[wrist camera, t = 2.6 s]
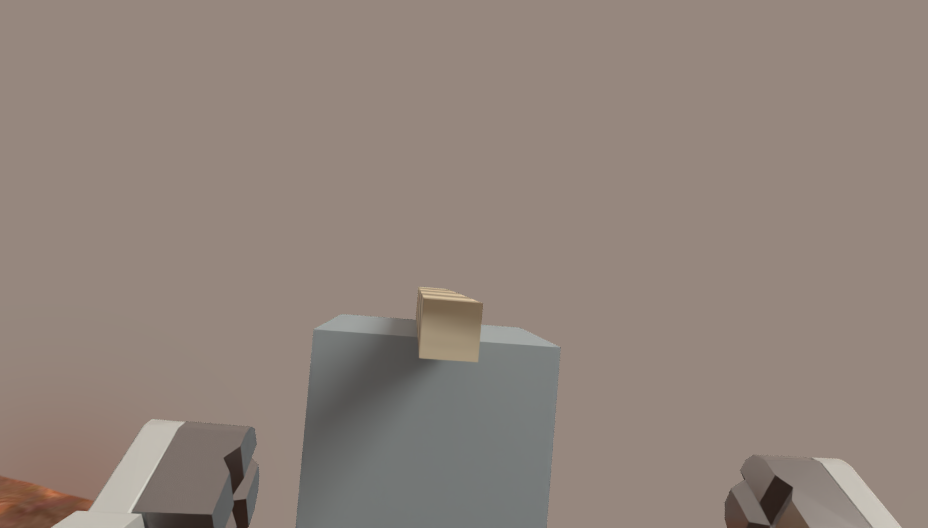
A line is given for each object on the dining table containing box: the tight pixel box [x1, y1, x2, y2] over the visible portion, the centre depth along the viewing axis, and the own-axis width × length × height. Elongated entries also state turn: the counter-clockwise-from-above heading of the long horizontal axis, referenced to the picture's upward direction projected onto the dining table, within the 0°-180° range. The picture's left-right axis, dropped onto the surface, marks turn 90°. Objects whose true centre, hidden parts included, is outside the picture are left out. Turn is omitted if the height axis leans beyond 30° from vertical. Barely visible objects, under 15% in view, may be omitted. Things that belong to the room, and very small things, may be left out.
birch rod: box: [416, 287, 483, 362], centre depth 35 cm, size 24×2×2 cm, turn 5°
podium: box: [296, 314, 561, 528], centre depth 37 cm, size 12×14×26 cm
